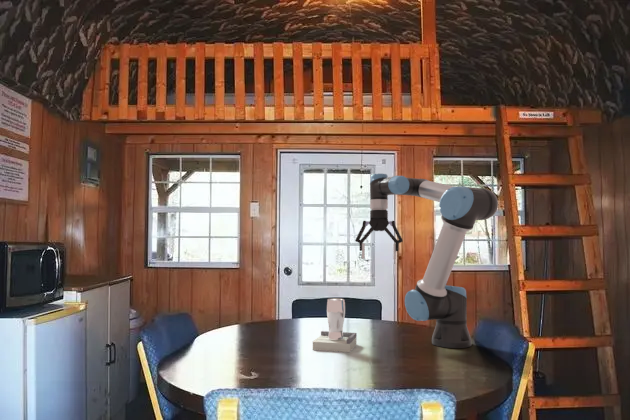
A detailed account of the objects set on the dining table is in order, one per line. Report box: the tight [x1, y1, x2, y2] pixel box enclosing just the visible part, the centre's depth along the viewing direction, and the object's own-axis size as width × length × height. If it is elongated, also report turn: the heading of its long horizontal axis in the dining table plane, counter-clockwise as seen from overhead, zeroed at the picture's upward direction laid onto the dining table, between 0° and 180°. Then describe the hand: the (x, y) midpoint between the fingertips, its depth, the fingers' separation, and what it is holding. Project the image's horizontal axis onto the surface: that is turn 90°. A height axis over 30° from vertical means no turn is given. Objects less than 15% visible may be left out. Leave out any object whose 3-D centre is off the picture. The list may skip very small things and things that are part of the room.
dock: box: [312, 330, 357, 353], centre depth 197 cm, size 14×14×4 cm
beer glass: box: [326, 297, 346, 340], centre depth 198 cm, size 7×7×15 cm
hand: (378, 258), depth 223 cm, fingers open, 13 cm apart
